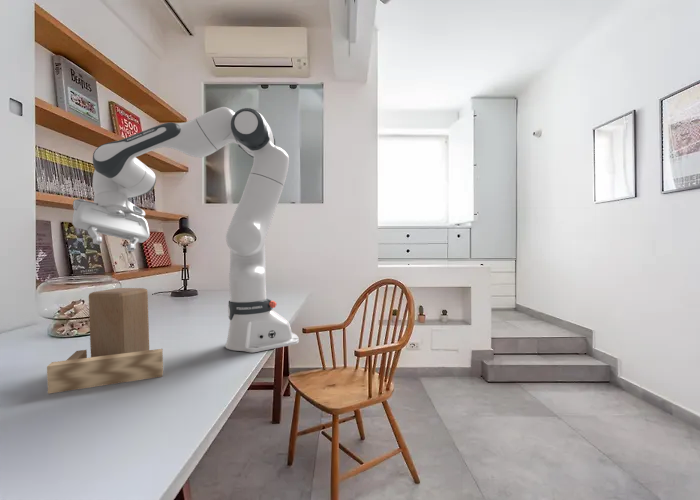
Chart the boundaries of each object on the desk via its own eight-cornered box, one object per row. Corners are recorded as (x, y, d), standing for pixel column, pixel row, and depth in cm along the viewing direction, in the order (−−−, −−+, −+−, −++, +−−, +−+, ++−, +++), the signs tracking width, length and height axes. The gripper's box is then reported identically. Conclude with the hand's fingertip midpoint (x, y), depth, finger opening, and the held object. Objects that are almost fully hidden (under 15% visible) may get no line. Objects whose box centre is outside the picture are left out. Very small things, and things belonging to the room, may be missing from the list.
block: (121, 371, 90) (119, 292, 89) (89, 368, 92) (86, 292, 91) (151, 358, 100) (149, 287, 99) (121, 356, 102) (119, 287, 101)
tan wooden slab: (165, 362, 96) (165, 340, 95) (162, 376, 86) (161, 352, 85) (65, 376, 87) (64, 352, 87) (48, 393, 77) (46, 366, 77)
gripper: (79, 190, 98) (80, 232, 92) (150, 212, 115) (155, 249, 110) (66, 202, 100) (67, 244, 94) (138, 222, 117) (142, 258, 112)
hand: (115, 246), depth 102 cm, fingers open, 8 cm apart
